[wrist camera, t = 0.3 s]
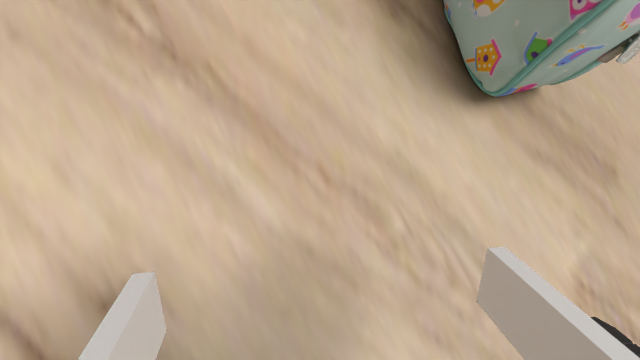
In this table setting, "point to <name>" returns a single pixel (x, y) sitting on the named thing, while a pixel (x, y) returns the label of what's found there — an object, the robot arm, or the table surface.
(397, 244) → the table surface
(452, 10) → the lunch box
